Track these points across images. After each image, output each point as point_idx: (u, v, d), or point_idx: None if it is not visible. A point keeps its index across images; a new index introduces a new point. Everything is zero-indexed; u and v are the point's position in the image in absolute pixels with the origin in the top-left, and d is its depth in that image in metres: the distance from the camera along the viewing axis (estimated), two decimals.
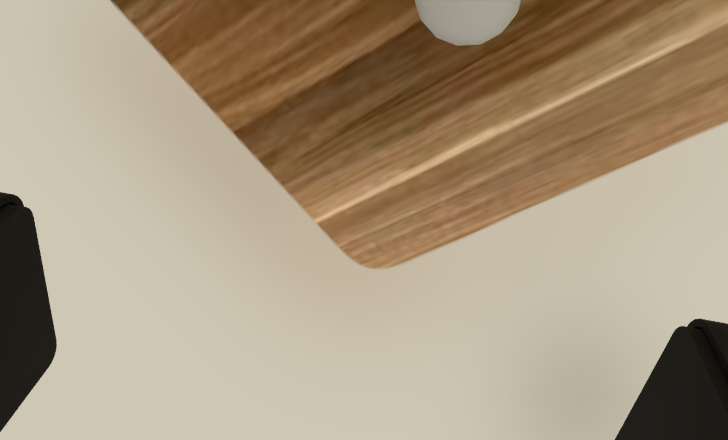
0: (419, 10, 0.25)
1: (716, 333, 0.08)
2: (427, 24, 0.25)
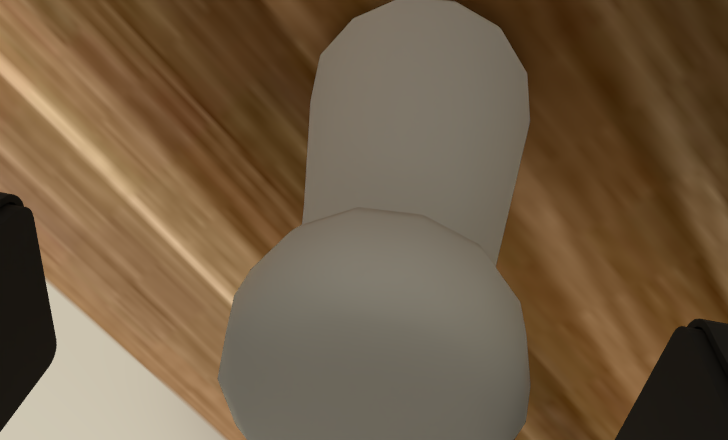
0: (297, 289, 0.07)
1: (717, 333, 0.08)
2: (259, 314, 0.08)
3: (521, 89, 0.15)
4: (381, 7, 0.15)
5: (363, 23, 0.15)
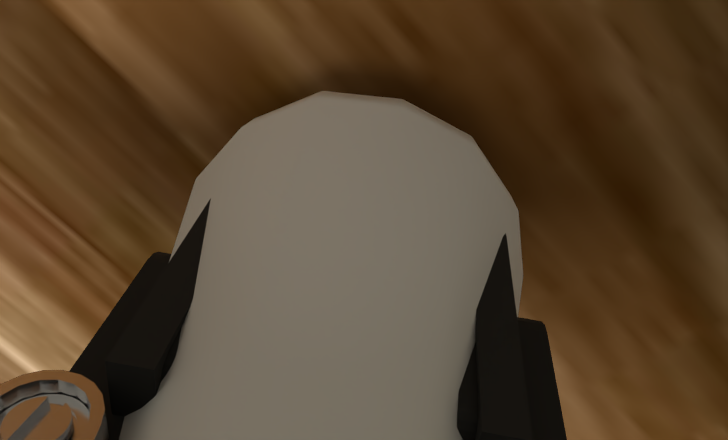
0: None
1: None
2: None
3: (509, 249, 0.09)
4: (283, 113, 0.09)
5: (251, 141, 0.09)
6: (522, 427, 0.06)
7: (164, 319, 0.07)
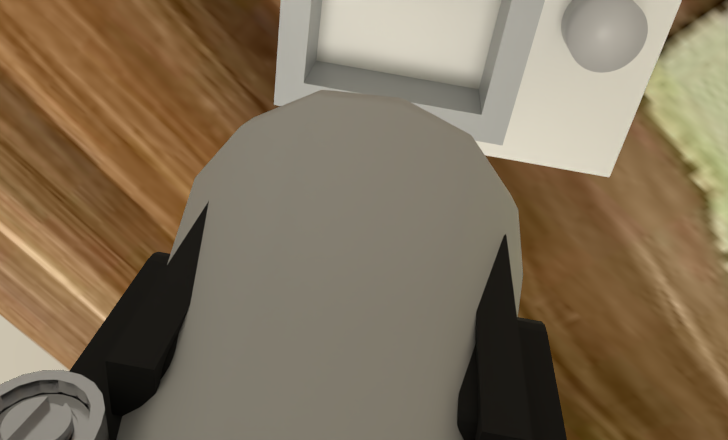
0: None
1: None
2: None
3: (509, 248, 0.09)
4: (282, 112, 0.09)
5: (250, 139, 0.09)
6: (521, 426, 0.06)
7: (164, 319, 0.07)
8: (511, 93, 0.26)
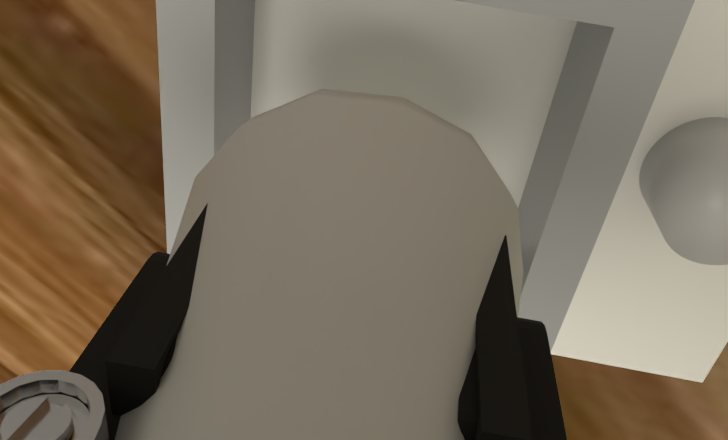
0: None
1: None
2: None
3: (509, 248, 0.09)
4: (282, 111, 0.09)
5: (251, 139, 0.09)
6: (522, 426, 0.06)
7: (164, 319, 0.07)
8: (560, 301, 0.15)
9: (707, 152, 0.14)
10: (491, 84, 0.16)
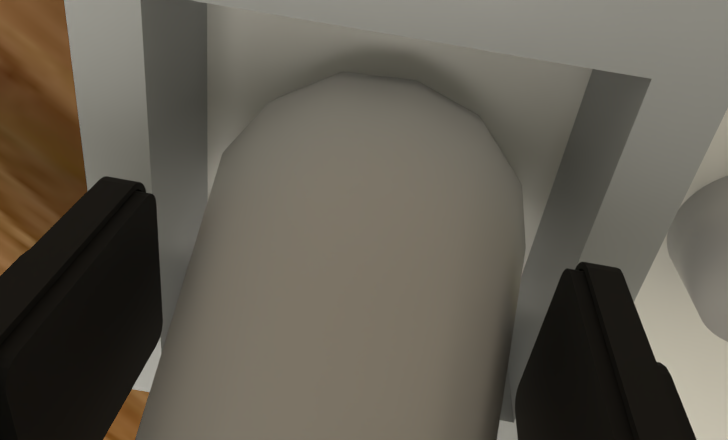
0: None
1: (593, 272, 0.09)
2: None
3: (513, 218, 0.10)
4: (306, 90, 0.10)
5: (277, 115, 0.10)
6: None
7: None
8: None
9: None
10: (492, 131, 0.13)
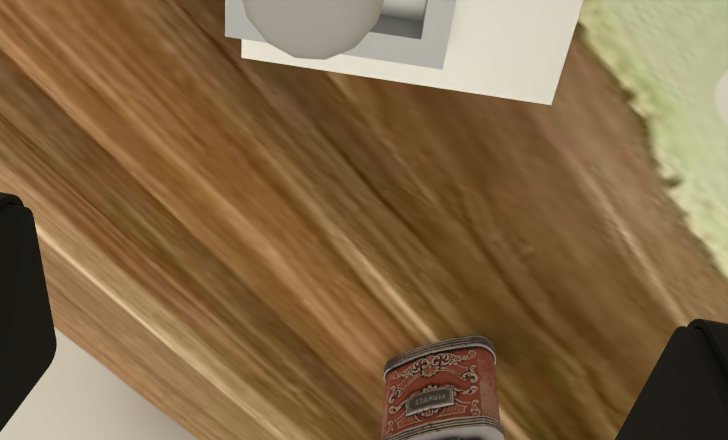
0: None
1: (716, 333, 0.08)
2: None
3: None
4: None
5: None
6: None
7: None
8: (447, 17, 0.27)
9: None
10: None
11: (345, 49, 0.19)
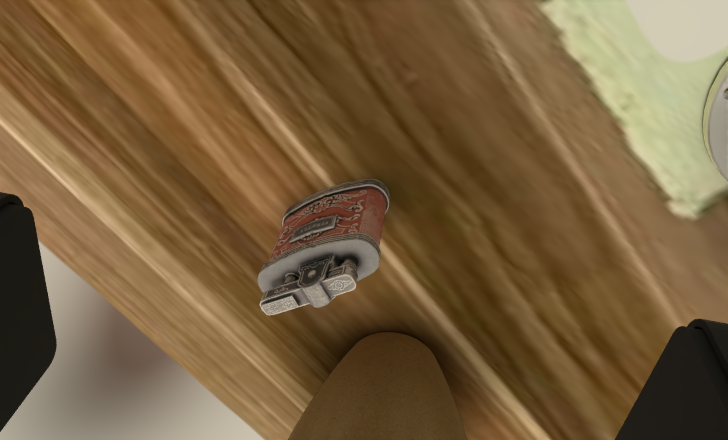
0: None
1: (717, 333, 0.08)
2: None
3: None
4: None
5: None
6: None
7: None
8: None
9: None
10: None
11: None
